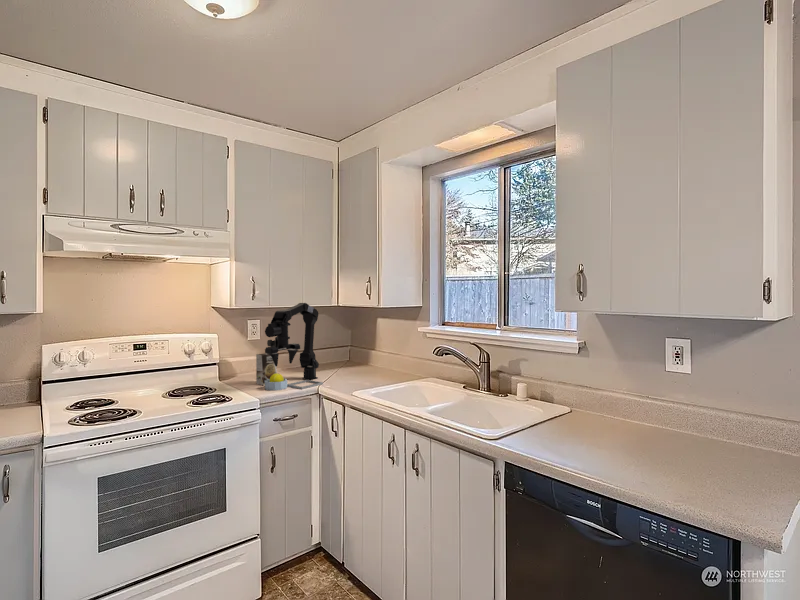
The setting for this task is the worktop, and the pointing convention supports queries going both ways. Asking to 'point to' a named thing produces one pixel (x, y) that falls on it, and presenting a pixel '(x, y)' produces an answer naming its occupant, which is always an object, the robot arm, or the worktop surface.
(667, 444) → the worktop surface
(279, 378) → the tennis ball
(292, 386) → the grey square frame
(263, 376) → the coffee box
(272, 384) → the bowl
